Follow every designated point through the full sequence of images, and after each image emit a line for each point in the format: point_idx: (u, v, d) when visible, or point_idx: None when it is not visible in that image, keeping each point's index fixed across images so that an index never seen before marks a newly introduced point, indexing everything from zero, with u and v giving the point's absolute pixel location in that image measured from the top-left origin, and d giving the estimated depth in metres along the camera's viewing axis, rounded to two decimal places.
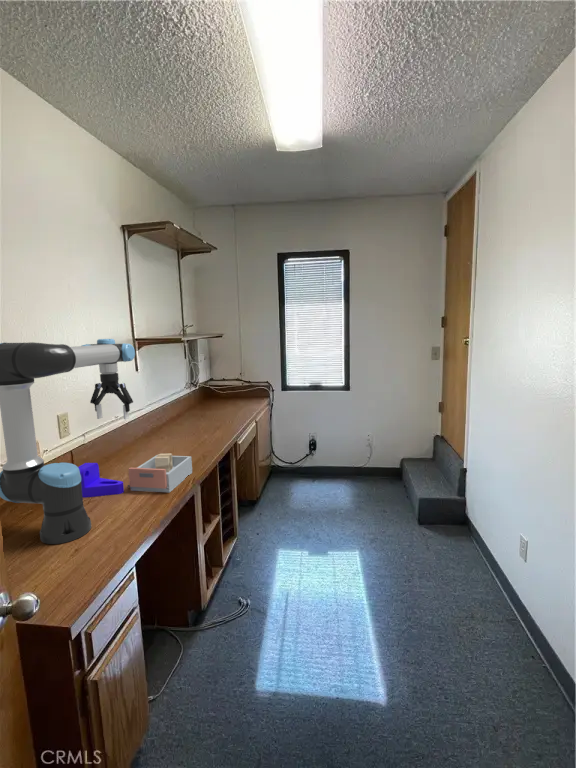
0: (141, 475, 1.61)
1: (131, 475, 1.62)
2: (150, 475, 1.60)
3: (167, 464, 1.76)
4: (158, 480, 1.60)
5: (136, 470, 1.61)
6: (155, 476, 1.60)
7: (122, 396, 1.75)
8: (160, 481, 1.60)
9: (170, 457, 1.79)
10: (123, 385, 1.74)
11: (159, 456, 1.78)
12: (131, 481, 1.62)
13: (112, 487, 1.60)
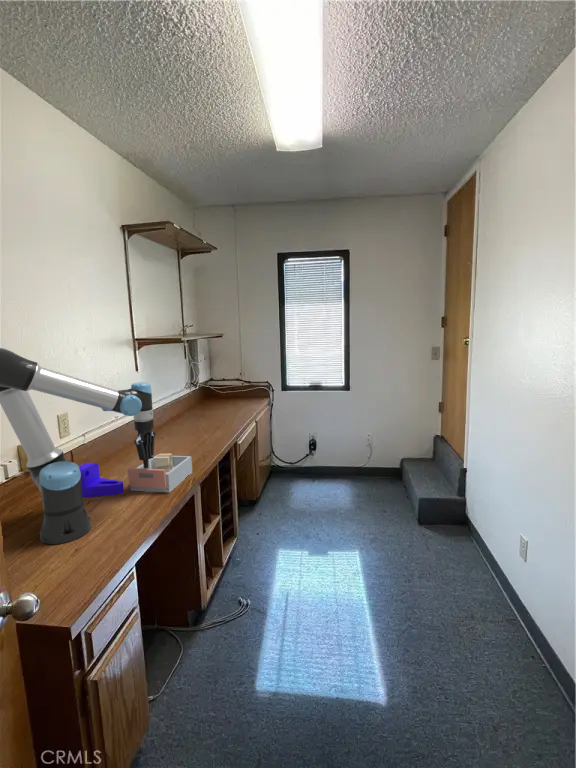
0: (141, 475, 1.60)
1: (131, 475, 1.62)
2: (150, 475, 1.59)
3: (167, 464, 1.76)
4: (158, 480, 1.60)
5: (135, 471, 1.61)
6: (154, 476, 1.60)
7: None
8: (160, 481, 1.60)
9: (170, 457, 1.79)
10: (137, 443, 1.54)
11: (159, 456, 1.78)
12: (131, 481, 1.62)
13: (112, 487, 1.60)
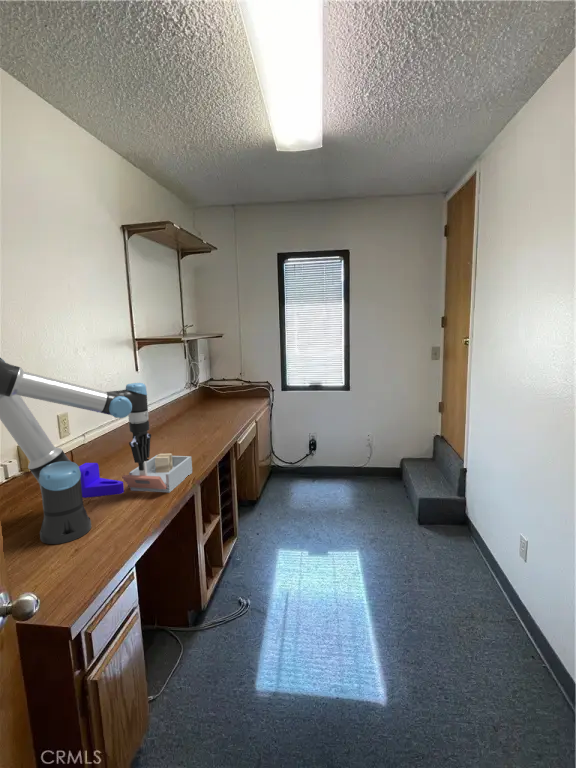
0: (137, 482, 1.58)
1: (127, 481, 1.59)
2: (146, 482, 1.57)
3: (167, 464, 1.76)
4: (156, 484, 1.58)
5: (130, 478, 1.57)
6: (151, 482, 1.57)
7: None
8: (158, 485, 1.58)
9: (170, 457, 1.79)
10: (131, 445, 1.50)
11: (159, 456, 1.78)
12: (129, 484, 1.61)
13: (112, 487, 1.60)
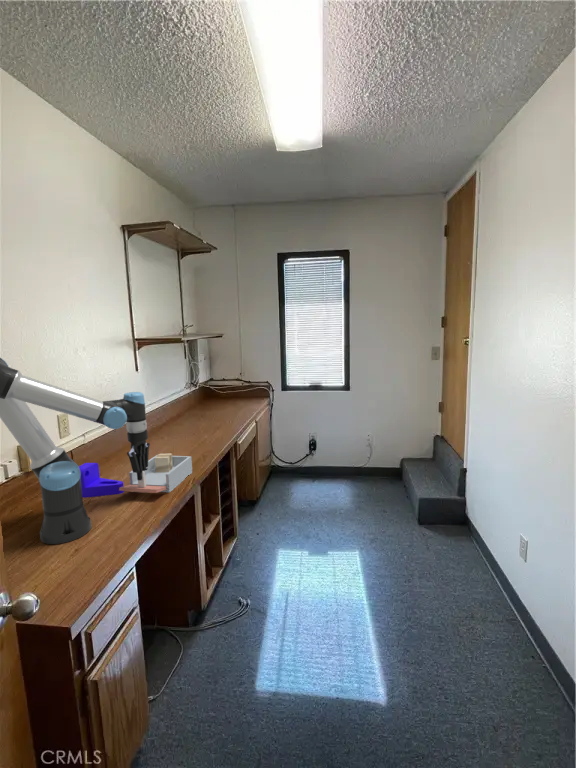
0: None
1: None
2: None
3: (167, 464, 1.76)
4: None
5: (128, 490, 1.55)
6: None
7: None
8: None
9: (170, 457, 1.79)
10: (129, 455, 1.49)
11: (159, 456, 1.78)
12: None
13: (112, 487, 1.60)
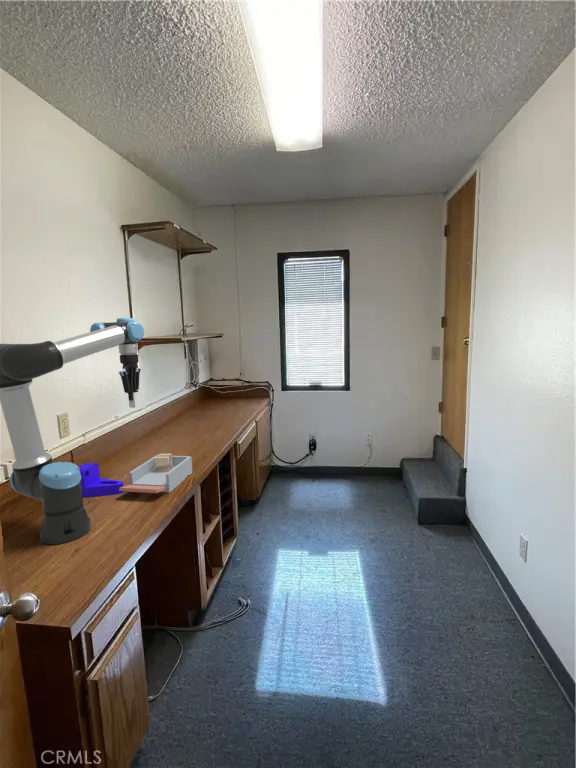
0: None
1: None
2: (145, 492, 1.56)
3: (167, 464, 1.76)
4: None
5: (128, 490, 1.55)
6: None
7: None
8: None
9: (170, 457, 1.79)
10: (121, 374, 1.62)
11: (159, 456, 1.78)
12: None
13: (112, 487, 1.60)
